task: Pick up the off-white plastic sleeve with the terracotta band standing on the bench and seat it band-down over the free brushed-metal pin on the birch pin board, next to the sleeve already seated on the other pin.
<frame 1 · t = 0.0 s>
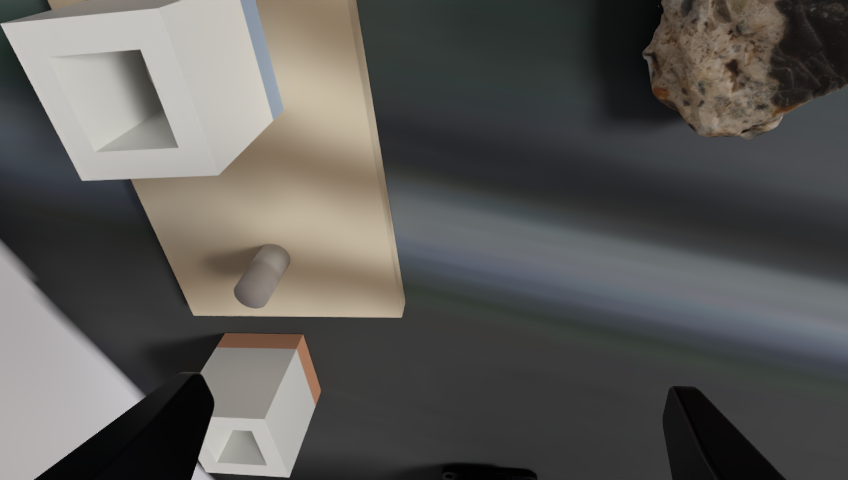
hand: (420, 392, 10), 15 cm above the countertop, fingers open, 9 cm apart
seated sleeve: (208, 52, 21), point 1 cm above the countertop, touching pin board
banded sleeve: (274, 362, 32), on the countertop
pin board: (256, 155, 24), on the countertop
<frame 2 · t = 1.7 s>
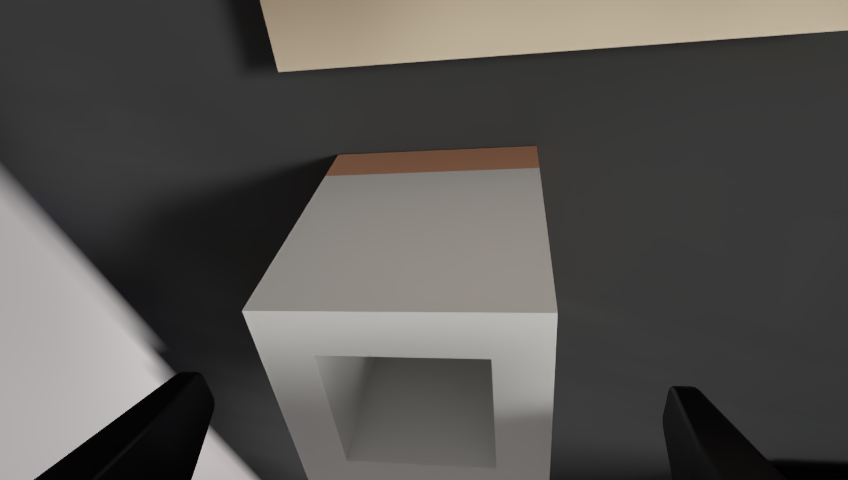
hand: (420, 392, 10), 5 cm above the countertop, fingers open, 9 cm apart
banded sleeve: (442, 234, 14), on the countertop
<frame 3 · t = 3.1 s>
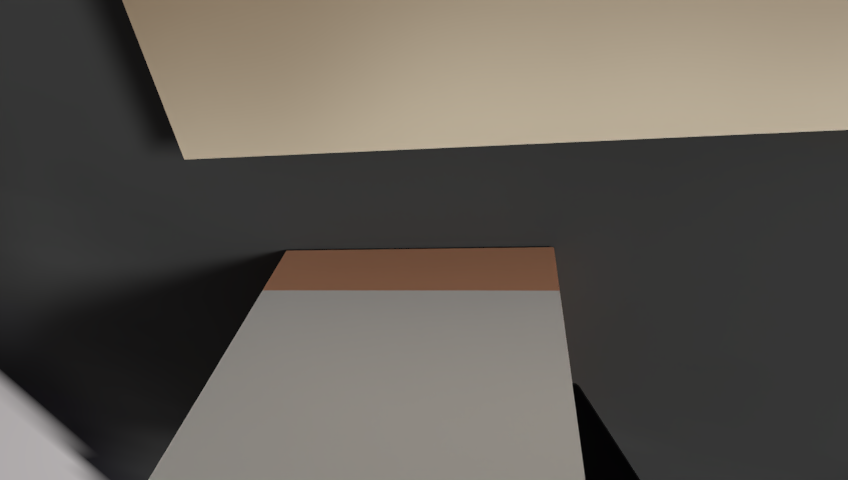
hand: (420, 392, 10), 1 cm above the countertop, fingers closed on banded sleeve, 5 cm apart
banded sleeve: (427, 346, 11), on the countertop, touching gripper
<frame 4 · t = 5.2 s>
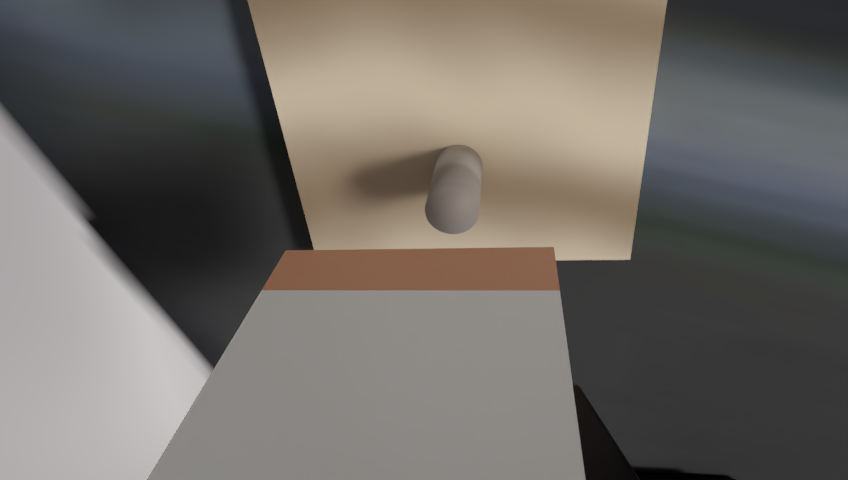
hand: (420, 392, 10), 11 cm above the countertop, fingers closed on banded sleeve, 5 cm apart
banded sleeve: (427, 346, 11), point 10 cm above the countertop, touching gripper
pin board: (451, 1, 16), on the countertop
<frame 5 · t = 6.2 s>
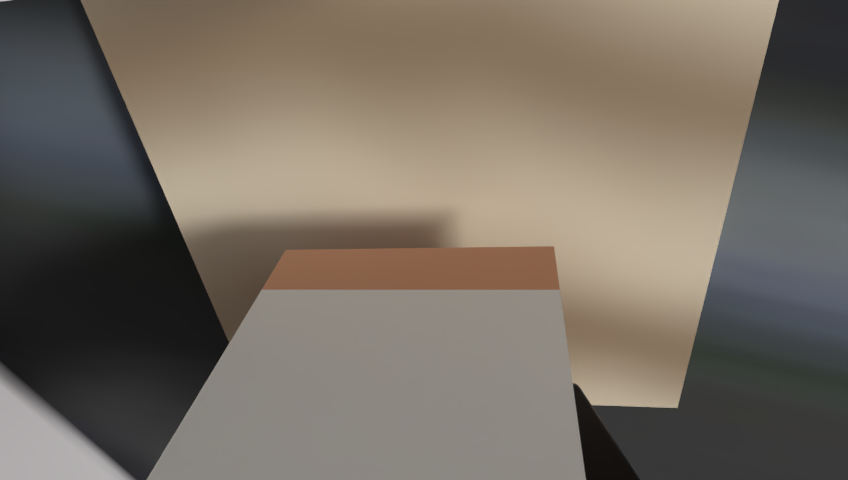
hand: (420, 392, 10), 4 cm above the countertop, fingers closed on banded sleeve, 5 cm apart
banded sleeve: (427, 345, 11), point 3 cm above the countertop, touching gripper
pin board: (420, 62, 11), on the countertop
when the fingers open (3 cm above the countertop, at t = 7.2 s): banded sleeve stays where it is, resting on pin board.
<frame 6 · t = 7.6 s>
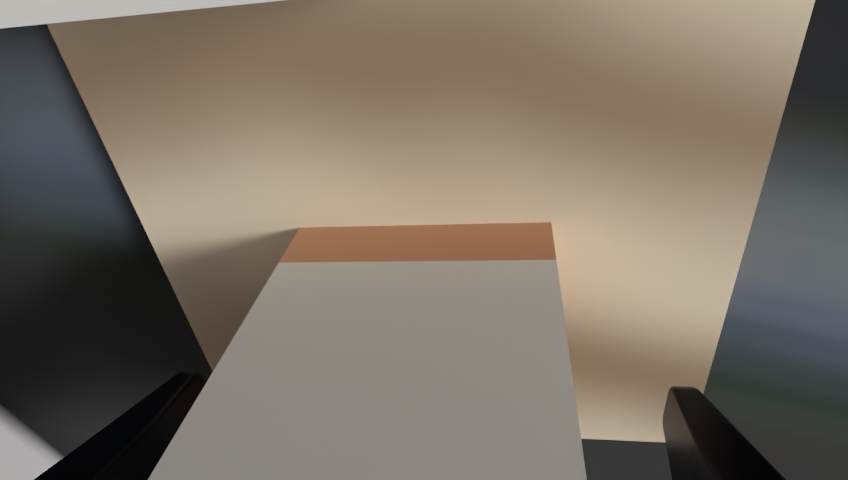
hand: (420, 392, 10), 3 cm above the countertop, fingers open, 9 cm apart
banded sleeve: (432, 319, 12), point 1 cm above the countertop, touching pin board
pin board: (413, 79, 10), on the countertop
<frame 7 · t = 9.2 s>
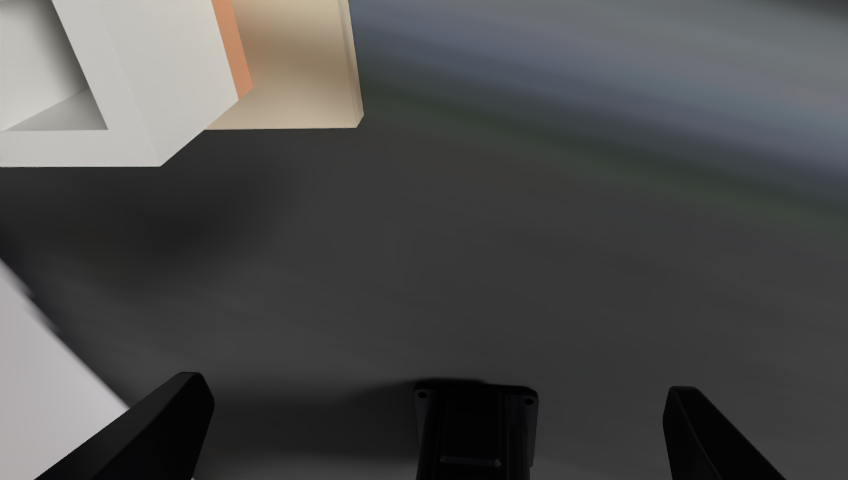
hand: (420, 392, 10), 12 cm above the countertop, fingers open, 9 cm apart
banded sleeve: (162, 14, 17), point 1 cm above the countertop, touching pin board
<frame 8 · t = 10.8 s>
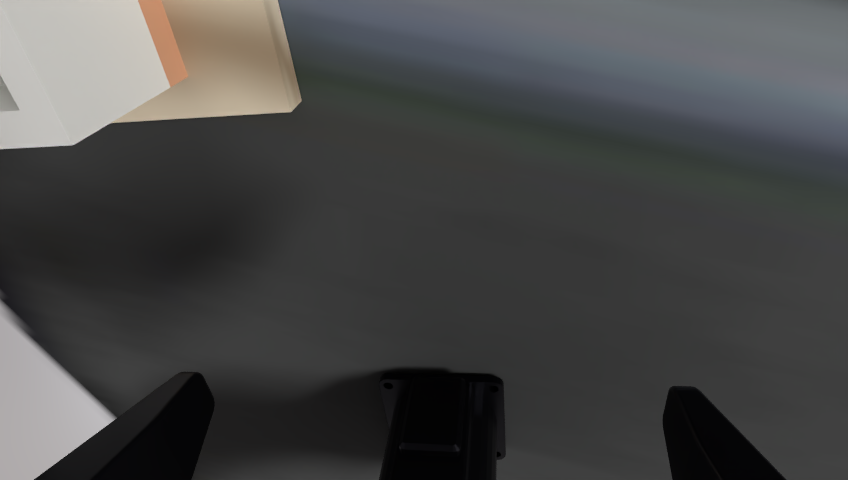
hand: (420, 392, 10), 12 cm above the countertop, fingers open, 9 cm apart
banded sleeve: (94, 7, 18), point 1 cm above the countertop, touching pin board
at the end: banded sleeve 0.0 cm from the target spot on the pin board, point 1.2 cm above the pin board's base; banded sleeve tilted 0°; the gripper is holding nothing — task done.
